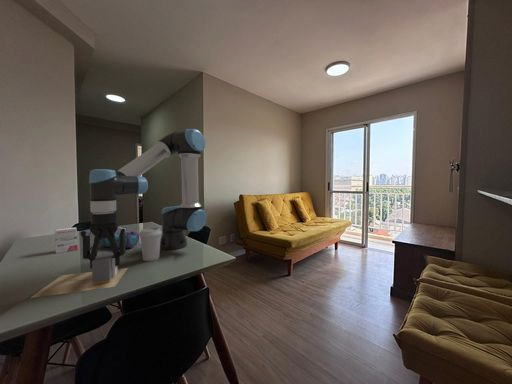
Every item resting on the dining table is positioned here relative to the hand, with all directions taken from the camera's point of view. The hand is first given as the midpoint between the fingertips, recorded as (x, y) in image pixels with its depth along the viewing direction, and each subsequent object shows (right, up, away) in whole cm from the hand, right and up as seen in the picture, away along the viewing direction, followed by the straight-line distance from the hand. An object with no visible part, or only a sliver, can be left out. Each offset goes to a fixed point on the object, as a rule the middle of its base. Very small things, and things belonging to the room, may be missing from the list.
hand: (105, 275), depth 74 cm
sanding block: (0, -1, 0) cm, 1 cm away
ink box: (-47, -1, +35) cm, 59 cm away
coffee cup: (+6, -2, +20) cm, 21 cm away
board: (-6, -3, -2) cm, 6 cm away
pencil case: (-23, -1, +42) cm, 48 cm away
